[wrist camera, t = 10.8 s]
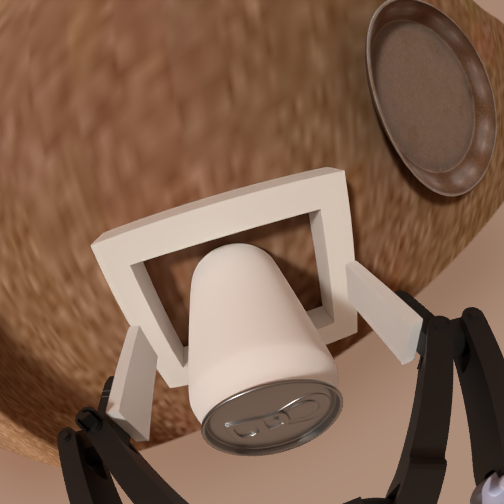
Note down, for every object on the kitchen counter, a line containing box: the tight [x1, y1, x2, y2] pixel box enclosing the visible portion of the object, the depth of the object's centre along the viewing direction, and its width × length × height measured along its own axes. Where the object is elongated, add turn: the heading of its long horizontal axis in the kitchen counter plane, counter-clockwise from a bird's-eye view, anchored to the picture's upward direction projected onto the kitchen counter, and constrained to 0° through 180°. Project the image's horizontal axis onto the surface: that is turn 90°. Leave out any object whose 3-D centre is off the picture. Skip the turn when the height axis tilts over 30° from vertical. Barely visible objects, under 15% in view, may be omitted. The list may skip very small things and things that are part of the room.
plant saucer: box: [365, 0, 497, 196], centre depth 15 cm, size 18×18×3 cm
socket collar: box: [91, 167, 357, 388], centre depth 19 cm, size 16×13×2 cm
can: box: [188, 243, 343, 456], centre depth 14 cm, size 6×6×12 cm
